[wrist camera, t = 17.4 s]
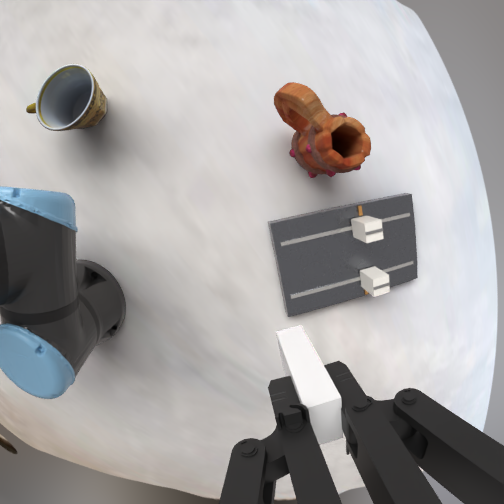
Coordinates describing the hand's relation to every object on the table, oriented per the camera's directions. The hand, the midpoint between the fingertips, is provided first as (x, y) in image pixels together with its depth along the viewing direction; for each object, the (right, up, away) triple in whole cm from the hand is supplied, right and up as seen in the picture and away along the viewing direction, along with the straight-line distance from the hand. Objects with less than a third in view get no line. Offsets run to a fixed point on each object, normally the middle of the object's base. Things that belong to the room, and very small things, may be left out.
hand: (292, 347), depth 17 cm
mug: (+5, +24, +29) cm, 37 cm away
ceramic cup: (-31, +29, +24) cm, 48 cm away
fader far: (+18, +1, +33) cm, 37 cm away
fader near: (+15, +10, +30) cm, 35 cm away
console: (+14, +6, +34) cm, 37 cm away
